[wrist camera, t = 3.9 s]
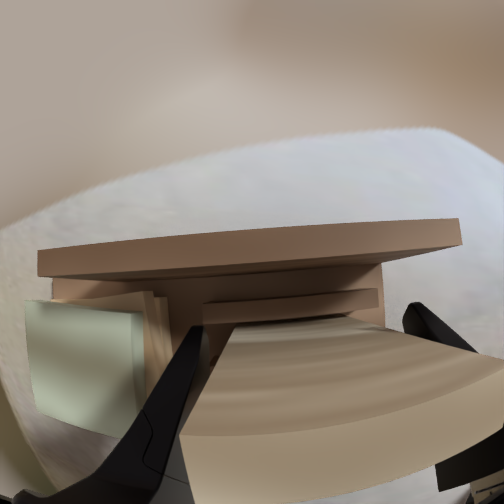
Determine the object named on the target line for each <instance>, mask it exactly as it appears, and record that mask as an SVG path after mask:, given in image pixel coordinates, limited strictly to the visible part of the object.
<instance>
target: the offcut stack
mask: <svg viewBox="0 0 504 504" xmlns="http://www.w3.org/2000/svg"><path fill="white" fill-rule="evenodd" d="M25 326H26V341H27V351H28V360H29V368H30V375H31V381H32V387H33V393H34V398H35V403H36V408H37V411H38V412H40V413H42V414H45V415H47V416H50V417H52V418H55V419H57V420H60V421H63V422H66V423H68V424H71V425H74V426H77V427H80V428H83V429H86V430H90V431H93V432H96V433H100V434H103V435H107V436H111V437H115V438H119V439H122V438H123V436H124V435H125V433H126V432H127V431H128V429H129V428H130V426H131V425H132V423H133V422H134V420H135V418H136V417H137V415H138V413H139V412H140V410H141V409H143V408H142V407H143V405H144V403H145V402H146V400H147V398H148V397H149V395H150V393H151V392H152V390H153V388H154V387H155V385H156V383H157V382H158V380H159V378H160V377H161V375H162V373H163V372H164V370H165V368H166V367H167V365H168V363H169V362H170V360H171V359H172V357H173V353H172V344H171V334H170V324H169V312H168V299H167V297H154V295H153V291H140V292H134V293H128V294H121V295H115V296H108V297H102V298H95V299H51V300H50V301H44V300H25Z"/></svg>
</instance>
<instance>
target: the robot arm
mask: <svg viewBox="0 0 504 504" xmlns="http://www.w3.org/2000/svg"><path fill="white" fill-rule="evenodd" d="M402 323H403V328H404V332H405V333H406V334H409V335H412V336H416V337H419V338H423V339H427V340H430V341H434V342H437V343H441V344H445V345H448V346H452V347H456V348H459V349H463V350H467V351H471V352H475V353H478V352H477V351H476V350H475V349H474V348H473V347H471V346H470V345H469V344H468V343H467V342H466V341H465V340H464V339H463V338H461V337H460V336H459V335H458V334H457V333H456V332H455V331H454V330H452V329H451V328H450V327H449V326H448V325H447V324H446V323H444V322H443V321H442V320H441V319H440V318H439V317H437V316H436V315H435V314H434V313H433V312H431V311H430V310H429V309H428V308H427V307H425V306H424V305H423V304H422V303H420V302H414V303H410V304H409V305H408V307H407V309H406V311H405V313H404V316H403V319H402ZM478 354H479V353H478ZM209 377H210V360H209V339H208V336H207V333H206V329H205V327H204V325H193V326H191V327H190V329H189V331H188V332H187V334H186V336H185V337H184V339H183V340H182V342H181V344H180V345H179V347H178V349H177V350H176V352H175V354H174V355H173V357H172V359H171V360H170V362H169V363H168V365H167V367H166V368H165V370H164V372H163V373H162V375H161V377H160V378H159V380H158V382H157V383H156V385H155V387H154V388H153V390H152V392H151V393H150V395H149V397H148V398H147V400H146V402H145V403H144V405H143V407H142V408H143V409H141V410H140V412H139V413H138V415H137V417H136V418H135V420H134V422H133V423H132V425H131V426H130V428H129V429H128V431H127V432H126V433H125V435H124V436H123V438H122V439H121V440H120V442H119V443H118V444H117V445H116V447H115V448H114V449H113V451H112V452H111V453H110V454H109V456H108V457H107V458H106V459H105V461H104V462H103V463H102V464H101V466H100V467H99V468H98V469H97V470H96V471H95V472H94V473H92V474H91V475H89V476H88V477H86V478H84V479H83V480H81V481H79V482H77V483H75V484H73V485H71V486H69V487H67V488H66V489H64V490H62V491H60V492H58V493H56V494H54V495H51V496H47V495H44V494H41V493H37V492H34V491H31V490H28V489H23V490H22V491H20V492H19V493H17V494H16V495H15V496H14V498H13V499H12V498H9V497H6V496H3V495H0V504H195V501H194V498H193V494H192V490H191V486H190V482H189V478H188V474H187V470H186V466H185V461H184V457H183V452H182V448H181V443H180V438H179V434H180V432H181V430H182V428H183V426H184V425H185V423H186V421H187V419H188V417H189V415H190V413H191V411H192V410H193V408H194V406H195V404H196V402H197V400H198V398H199V396H200V394H201V392H202V391H203V389H204V387H205V385H206V383H207V381H208V379H209ZM435 469H436V476H437V483H438V490H439V492H441V491H445V490H448V489H452V488H455V487H458V486H461V485H465V484H468V483H470V487H471V494H470V496H469V498H468V500H467V501H466V504H504V423H503V427H502V428H501V429H500V430H498V431H497V432H495V433H494V434H492V435H490V436H489V437H487V438H485V439H484V440H482V441H480V442H478V443H477V444H475V445H473V446H471V447H469V448H468V449H466V450H464V451H462V452H460V453H458V454H456V455H454V456H452V457H450V458H448V459H446V460H443V461H441V462H439V463H437V464H435Z"/></svg>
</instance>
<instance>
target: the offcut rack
mask: <svg viewBox="0 0 504 504" xmlns="http://www.w3.org/2000/svg"><path fill="white" fill-rule="evenodd" d="M459 245H462V238H461V231H460V225H459V219H458V218H452V219H423V220H399V221H378V222H358V223H340V224H323V225H307V226H292V227H277V228H263V229H250V230H237V231H224V232H212V233H201V234H189V235H178V236H167V237H156V238H146V239H136V240H126V241H116V242H107V243H97V244H88V245H79V246H70V247H62V248H53V249H45V250H38V277H50V278H53V298H54V299H95V298H102V297H108V296H115V295H121V294H128V293H134V292H140V291H153V295H154V297H167V299H168V312H169V324H170V334H171V344H172V353H173V355H174V354H175V352H176V350H177V349H178V347H179V345H180V344H181V342H182V340H183V339H184V337H185V336H186V334H187V332H188V331H189V329H190V327H191V326H193V325H204V327H205V329H206V333H207V336H208V339H209V360H210V375H211V373H212V371H213V369H214V367H215V365H216V364H217V362H218V360H219V358H220V356H221V354H222V352H223V350H224V348H225V346H226V344H227V342H228V340H229V338H230V336H231V334H232V332H233V330H234V328H235V326H236V324H237V323H248V322H262V321H274V320H285V319H296V318H306V317H315V316H324V315H332V314H342V315H346V316H349V317H352V318H355V319H359V320H362V321H365V322H368V323H372V324H375V325H378V326H382V327H385V308H384V291H383V278H382V267H381V263H383V262H387V261H392V260H397V259H401V258H406V257H411V256H415V255H420V254H424V253H429V252H433V251H438V250H442V249H446V248H450V247H455V246H459Z"/></svg>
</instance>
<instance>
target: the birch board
mask: <svg viewBox="0 0 504 504" xmlns="http://www.w3.org/2000/svg"><path fill="white" fill-rule="evenodd" d="M503 423H504V360H502V359H498V358H494V357H490V356H486V355H482V354H478V353H475V352H471V351H467V350H463V349H459V348H456V347H452V346H448V345H445V344H441V343H437V342H434V341H430V340H427V339H423V338H419V337H416V336H412V335H409V334H406V333H402V332H399V331H395V330H392V329H388V328H385V327H382V326H378V325H375V324H372V323H368V322H365V321H362V320H359V319H355V318H352V317H349V316H346V315H342V314H332V315H324V316H315V317H306V318H296V319H285V320H274V321H262V322H248V323H237V324H236V326H235V328H234V330H233V332H232V334H231V336H230V338H229V340H228V342H227V344H226V346H225V348H224V350H223V352H222V354H221V356H220V358H219V360H218V362H217V364H216V365H215V367H214V369H213V371H212V373H211V375H210V377H209V379H208V381H207V383H206V385H205V387H204V389H203V391H202V392H201V394H200V396H199V398H198V400H197V402H196V404H195V406H194V408H193V410H192V411H191V413H190V415H189V417H188V419H187V421H186V423H185V425H184V426H183V428H182V430H181V432H180V434H179V438H180V443H181V448H182V452H183V457H184V461H185V466H186V470H187V474H188V478H189V482H190V486H191V490H192V494H193V498H194V501H195V504H284V503H293V502H301V501H308V500H315V499H321V498H326V497H332V496H337V495H341V494H346V493H350V492H354V491H358V490H362V489H366V488H370V487H373V486H377V485H380V484H383V483H387V482H390V481H393V480H396V479H399V478H402V477H404V476H407V475H410V474H412V473H415V472H418V471H420V470H423V469H425V468H428V467H430V466H432V465H435V464H437V463H439V462H441V461H443V460H446V459H448V458H450V457H452V456H454V455H456V454H458V453H460V452H462V451H464V450H466V449H468V448H469V447H471V446H473V445H475V444H477V443H478V442H480V441H482V440H484V439H485V438H487V437H489V436H490V435H492V434H494V433H495V432H497V431H498V430H500V429H501V428H502V427H503Z"/></svg>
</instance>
